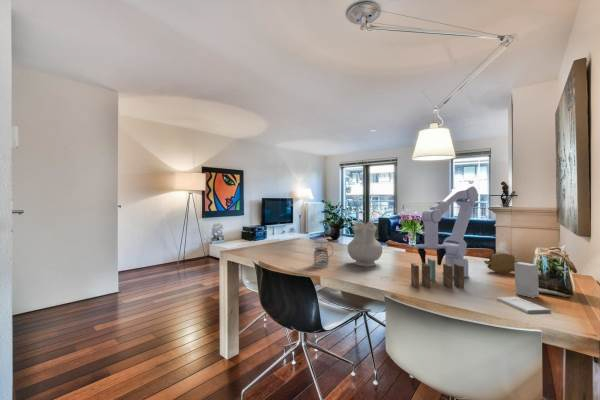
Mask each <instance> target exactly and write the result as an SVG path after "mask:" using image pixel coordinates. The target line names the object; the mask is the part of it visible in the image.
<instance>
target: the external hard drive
mask: <svg viewBox="0 0 600 400" xmlns="http://www.w3.org/2000/svg"><path fill="white" fill-rule="evenodd" d="M496 300H497V301H498V300H499V302H501V303H503V304H505V305H507V304H508V305H507V306H509V305H510V306H509V307H512V308H514V309H516V308H517V310H518V309H519V311H521V312H523V313H525V312H526V313H525V314H527V313H531V314H547V313H546V312H551V313H552V310H551V309H549V308H547V307H544V306H542V305H539V304H537V303H534V302H532V301H529V300H526V299H523V298H521V297H520V296H519V297H518V296H498V297H496Z"/></svg>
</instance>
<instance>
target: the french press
mask: <svg viewBox="0 0 600 400" xmlns="http://www.w3.org/2000/svg"><path fill="white" fill-rule="evenodd" d="M318 223H319V224H323V223H324V222H323V221H322V220H320V221H319V222H318ZM313 242H314V244H315V243H317V244H326V243H327V246H330V247H331V249H332V250H334V247H333V245H332V244H330V243H328V242H329V240H328V239H325V238H322V237H319V238H317V239H315V240H313ZM333 254H334V251H332V253H331V254H330V255H329V251H328V247H326V246H325V247H322V246H318V247H315V248H314V251H313V256H314V257H313V258H314V259H313V260H314V261H313V262H314V263H313V264H312V267H314V268H318V269H319V268H320V269H322V268H323V269H326V268H330V267H329V266H330V264H329V258H330V257H331V256H333Z"/></svg>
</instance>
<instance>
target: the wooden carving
mask: <svg viewBox="0 0 600 400" xmlns="http://www.w3.org/2000/svg"><path fill="white" fill-rule="evenodd" d="M517 262H518V261H516V258H515V255H514V254H509V253H505V252H496V253H493V254H492V253H491V254H489V260H484V261H483V263H484V264H485V265H487V266H486V268H488V269H489V270H491V271H493V272H495V273H498V274H508V273H512V272H514V273H515V267H514V263H517Z"/></svg>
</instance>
